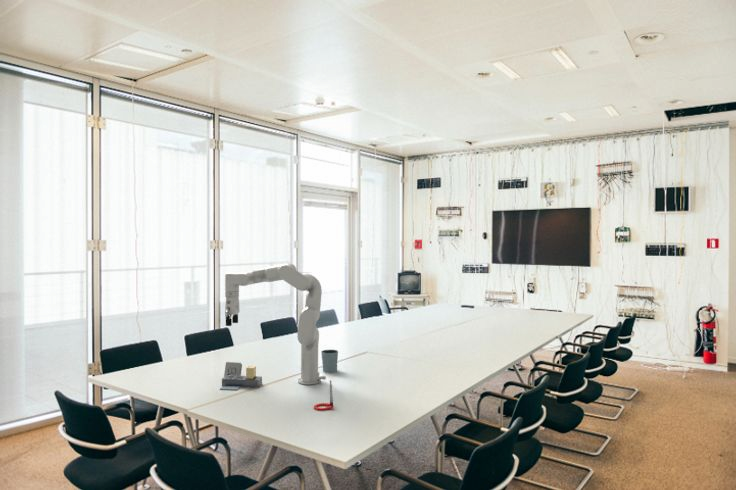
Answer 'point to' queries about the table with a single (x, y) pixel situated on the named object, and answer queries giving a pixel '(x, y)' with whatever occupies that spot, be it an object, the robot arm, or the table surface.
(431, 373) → the table surface
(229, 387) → the rubber mat
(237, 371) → the electrical switch
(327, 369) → the grey-green cup
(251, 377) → the brass peg
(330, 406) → the tow hook
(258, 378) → the rail
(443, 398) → the table surface
